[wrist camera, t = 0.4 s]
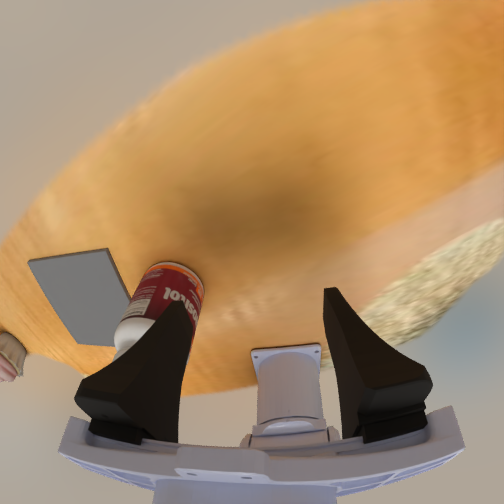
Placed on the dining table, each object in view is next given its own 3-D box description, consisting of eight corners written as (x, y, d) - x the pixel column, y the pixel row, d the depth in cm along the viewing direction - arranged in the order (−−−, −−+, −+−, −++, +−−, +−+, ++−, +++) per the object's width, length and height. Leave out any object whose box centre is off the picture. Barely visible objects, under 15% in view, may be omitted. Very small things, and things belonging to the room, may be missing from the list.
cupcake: (23, 336, 35) (-1, 379, 27) (38, 365, 40) (19, 403, 32) (-9, 318, 34) (-33, 355, 26) (7, 347, 39) (-13, 382, 31)
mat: (156, 345, 32) (155, 348, 32) (79, 341, 33) (77, 343, 33) (107, 248, 25) (105, 251, 24) (29, 260, 26) (27, 262, 26)
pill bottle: (217, 298, 27) (199, 398, 18) (168, 315, 29) (140, 404, 20) (181, 249, 24) (141, 349, 15) (132, 272, 26) (85, 361, 17)
